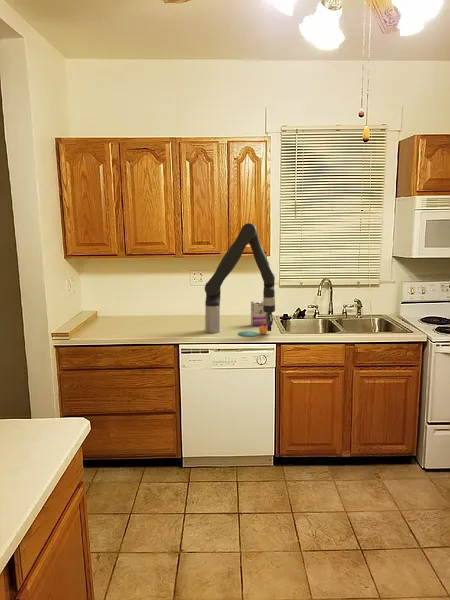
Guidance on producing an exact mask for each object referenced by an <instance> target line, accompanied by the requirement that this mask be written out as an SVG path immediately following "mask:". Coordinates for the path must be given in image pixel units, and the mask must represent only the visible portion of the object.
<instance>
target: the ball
mask: <svg viewBox="0 0 450 600" xmlns="http://www.w3.org/2000/svg"><path fill="white" fill-rule="evenodd" d="M258 331H259V332H258V333H260V334H261V335H265V334H267V333H268V332H269V331H268V328H267V326H264V325H263V326H259V328H258Z"/></svg>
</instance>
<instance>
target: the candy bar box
mask: <svg viewBox="0 0 450 600" xmlns="http://www.w3.org/2000/svg"><path fill="white" fill-rule="evenodd" d="M265 315H266V312H264V311H263V300H258V301H256V300H255V301H251V302H250V326H251V327H261V326H263V325H264V326H266V327H267V323H266V316H265Z"/></svg>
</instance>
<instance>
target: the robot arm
mask: <svg viewBox="0 0 450 600" xmlns="http://www.w3.org/2000/svg"><path fill="white" fill-rule="evenodd" d="M257 229H258V228H257V227H256V225H255V224H254V223H251V222H249V223H247V222H246V223H244V224H243V225H242V226H241V229H240V231H239V233H238V235H237V237H236V238H235V240H234V242H232V244H231V245H230V247H229V248H228V249H227V250H226V252H225V254H224V255H223V257H222V258H221V260H220V262H219V264H218V266H217V267H216V270H215V271H214V273H213V275H212V276H211V277H210V278H209V280H208V281H207V282H206V283H205V285H204V292H205V303H204V304H205V305H204V307H205V309H204V310H205V311H204V313H205V315H204V318H205V319H204V331H205V333H209V334H217V333H220V331H221V330H220V329H221V325H220V323H221V321H220V320H221V315H220V313H221V291H222V290H221V286H222V284H223V283H224V281H225V279H226V278H227V277H228V276H229V275H230V274H231V272H233V270H234V269H235V267H236V266H237V264H238V262H239V261H240V259H241V257H242V255H243V253H244V250H245V248H246V247H247V246H248V245H249V246H250V248H251V251H252V255H253V258H254V260H255V263H256V266H257V268H258V270H259V273H260V275H261V278H262V282H263V291H262V292H263V293H262V295H263V299H262V301H263V311H264V312H266V315H265V316H266V323H267V326H266V327H267V328H268V331H267V332H271V331H272V325H273V323H274V315H273V313H274V312H276V298H275V296H276V295H275V293H276V291H275V281H276V279H275V278H276V277H275V273H273V271H272V270H271V267H270V263H269V261H268V257H267V255H266V254H265V252H264V249H263V247H262V244H261V243H260V239H259V235H258V230H257Z"/></svg>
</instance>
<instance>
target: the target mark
mask: <svg viewBox="0 0 450 600" xmlns="http://www.w3.org/2000/svg"><path fill="white" fill-rule="evenodd" d="M237 335H238V336H240V337H243V338H244V337H245V338H253V337H257V336H259V335H260V334H259V332H258V331H257V332H256V331H253V330H251V331H250V330H245V331H244V330H243V331H239V332H238V333H237Z"/></svg>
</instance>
